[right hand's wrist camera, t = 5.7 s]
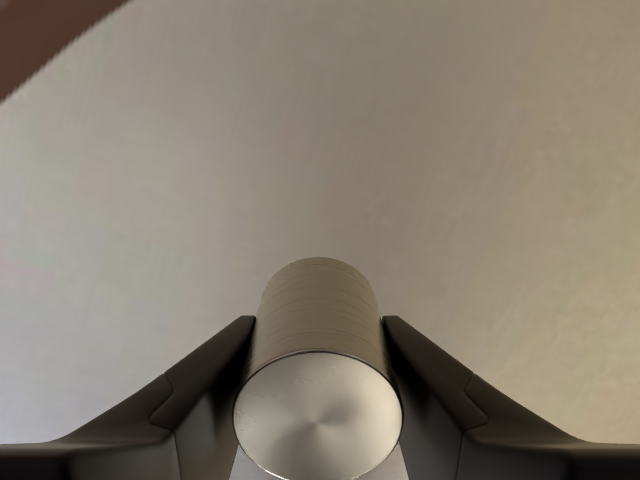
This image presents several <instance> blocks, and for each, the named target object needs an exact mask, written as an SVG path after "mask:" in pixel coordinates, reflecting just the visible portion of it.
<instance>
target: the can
mask: <svg viewBox="0 0 640 480" xmlns="http://www.w3.org/2000/svg"><path fill="white" fill-rule="evenodd" d="M403 425H404V407H403V403H402V399H401V395H400V391H399V387H398V383H397V379H396V376H395V372H394V368H393V364H392V360H391V356H390V352H389V348H388V345H387V341H386V337H385V333H384V329H383V325H382V321H381V317H380V314H379V310H378V306H377V302H376V298H375V294H374V292H373V289H372V287H371V285H370V284H369V282H368V281H367V280H366V278H365V277H364V276H363V275H362V274H361V273H360V272H359V271H358V270H356V269H355V268H353V267H352V266H350V265H348V264H346V263H344V262H341V261H339V260H335V259H331V258H323V257H313V258H306V259H302V260H298V261H296V262H293V263H291V264H289V265H287V266H285V267H284V268H282V269H281V270H280V271H278V272H277V273H276V274H275V275H274V276H273V277H272V279H271V280H270V281H269V282H268V284H267V286H266V288H265V290H264V292H263V295H262V299H261V302H260V306H259V310H258V313H257V317H256V321H255V324H254V328H253V332H252V335H251V339H250V343H249V346H248V350H247V354H246V357H245V361H244V365H243V368H242V372H241V376H240V379H239V383H238V387H237V390H236V394H235V398H234V402H233V406H232V426H233V430H234V433H235V437H236V439H237V441H238V443H239V445H240V447H241V448H242V450H243V451H244V452H245V454H246V455H247V456H248V457H249V458H250V459H251V460H252V461H253V462H254V463H255V464H256V465H258V466H259V467H260V468H262V469H263V470H265V471H267V472H268V473H270V474H272V475H274V476H276V477H279V478H281V479H284V480H352V479H355V478H357V477H360V476H362V475H364V474H366V473H368V472H369V471H371V470H373V469H374V468H376V467H377V466H378V465H380V464H381V463H382V462H383V461H384V460H385V459H386V458H387V457H388V456H389V455H390V454H391V452H392V451H393V450H394V448H395V446H396V445H397V443H398V441H399V438H400V436H401V433H402V429H403Z"/></svg>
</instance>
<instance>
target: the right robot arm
mask: <svg viewBox="0 0 640 480" xmlns="http://www.w3.org/2000/svg"><path fill="white" fill-rule="evenodd" d="M255 321H256V317H255V316H240V317H239V318H237V319H236V320H235V321H233V322H232V323H231V324H229V325H228V326H227V327H225V328H224V329H223V330H221V331H220V332H218V333H217V334H216V335H214V336H213V337H212V338H210V339H209V340H208V341H206V342H205V343H204V344H202V345H201V346H200V347H198V348H197V349H195V350H194V351H193V352H191V353H190V354H189V355H187V356H186V357H185V358H183V359H182V360H181V361H179V362H178V363H177V364H175V365H174V366H172V367H171V368H170V369H168V370H167V371H166V372H164V374H161V375H160V376H159V377H157V378H156V379H155V380H153V381H152V382H151V383H149V384H148V385H146V386H145V387H143V388H142V389H141V390H139V391H138V392H136V393H135V394H133V395H132V396H130V397H128V398H127V399H125V400H124V401H122V402H121V403H119V404H117V405H116V406H114V407H113V408H111V409H109V410H108V411H106V412H104V413H103V414H101V415H100V416H98V417H96V418H95V419H93V420H91V421H90V422H88V423H86V424H85V425H83V426H82V427H80V428H78V429H77V430H75V431H73V432H72V433H70V434H68V435H66V436H64V437H61V438H59V439H56V440H53V441H50V442H45V443H28V444H0V480H229V478H230V474H231V470H232V467H233V463H234V459H235V455H236V452H237V448H238V444H239V443H238V441H237V439H236V437H235V433H234V430H233V426H232V406H233V402H234V398H235V394H236V390H237V387H238V383H239V379H240V376H241V372H242V368H243V365H244V361H245V357H246V354H247V350H248V346H249V343H250V339H251V335H252V332H253V328H254V324H255ZM382 325H383V329H384V333H385V337H386V341H387V345H388V348H389V352H390V356H391V360H392V364H393V368H394V372H395V376H396V379H397V383H398V387H399V391H400V395H401V399H402V403H403V407H404V425H403V429H402V433H401V436H400V438H399V444H400V447H401V451H402V455H403V459H404V462H405V466H406V470H407V474H408V477H409V480H640V444H609V443H592V442H588V441H584V440H581V439H578V438H576V437H573V436H571V435H569V434H567V433H566V432H564V431H562V430H561V429H559V428H557V427H556V426H554V425H552V424H551V423H549V422H548V421H546V420H544V419H543V418H541V417H540V416H538V415H536V414H535V413H533V412H531V411H530V410H528V409H527V408H525V407H523V406H522V405H520V404H518V403H517V402H515V401H514V400H512V399H511V398H509V397H508V396H506V395H504V394H503V393H501V392H500V391H499V390H497V389H496V388H494V387H493V386H491V385H490V384H489V383H487V382H486V381H484V380H483V379H482V378H480V377H479V376H478V375H476V374H474V373H473V372H472V371H471V370H469V369H468V368H467V367H465V366H464V365H463V364H461V363H460V362H459V361H457V360H456V359H455V358H453V357H452V356H451V355H449V354H448V353H447V352H445V351H444V350H443V349H441V348H440V347H439V346H437V345H436V344H435V343H433V342H432V341H431V340H429V339H428V338H427V337H425V336H424V335H423V334H421V333H420V332H418V331H417V330H416V329H414V328H413V327H412V326H410V325H409V324H408V323H406V322H405V321H404V320H402V319H401V318H400V317H398V316H383V318H382Z"/></svg>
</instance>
